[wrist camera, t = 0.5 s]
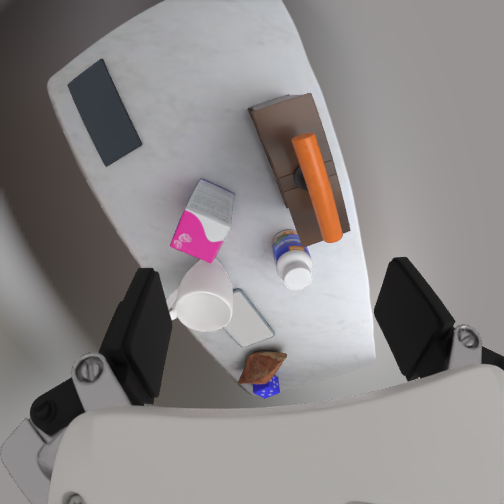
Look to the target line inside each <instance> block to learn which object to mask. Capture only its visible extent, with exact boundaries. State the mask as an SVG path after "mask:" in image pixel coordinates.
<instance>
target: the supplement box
mask: <svg viewBox="0 0 504 504" xmlns="http://www.w3.org/2000/svg"><path fill="white" fill-rule="evenodd" d="M234 195H235V193H233V192H231V191H228V190H226V189H224V188H222V187H219V186H217V185H215V184H213V183H211V182H209V181H206V180H204V179H200V180H199V182H198V184H197V186H196V188H195V190H194V192H193V194H192V196H191V198H190V200H189V202H188V204H187V206H186V208H185V210H184V212H183V214H182V216H181V219H180V221H179V224H178V226H177V229H176V231H175V234H174V236H173V239H172V241H171V244H170V247H172V248H175V249H177V250H179V251H182V252H185V253H187V254H189V255H192V256H194V257H196V258H199V259H201V260H203V261H206V262H208V263H210V264H211V263H212V262H213V260H214V259H215V257H216V255H217V253H218V251H219V249H220V247H221V245H222V244H223V242H224V240H225V238H226V236H227V234H228V232H229V230H230V228H231V220H232V211H233V202H234Z"/></svg>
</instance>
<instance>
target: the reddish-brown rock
mask: <svg viewBox="0 0 504 504" xmlns="http://www.w3.org/2000/svg"><path fill="white" fill-rule="evenodd" d="M286 357H287V354H285V353H280V352H269V351H262V352H256V353H253V354H251V355H250V356H249V357H248V359H247V361H246V366H245V368H244V370H243V372H242V375H241V377H240V379H239V381H238V383H240V384H242V383H252V384H265V383H268V382H269V381H270V380H271V379H272V377H273V376H274V375H275V373H276V372H277V370H278V369H279V367H280V366H281V364H282V362H283V361H284V360H285V359H286Z"/></svg>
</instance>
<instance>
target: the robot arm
mask: <svg viewBox="0 0 504 504" xmlns="http://www.w3.org/2000/svg"><path fill="white" fill-rule="evenodd" d="M374 315H375V318H376V320H377V322H378V323H379V326H380V328H381V330H382V332H383V334H384V336H385V338H386V340H387V342H388V344H389V347H390V349H391V351H392V353H393V355H394V357H395V360H396V362H397V364H398V366H399V369H400V371H401V373H402V374H403V375H404V376H406V379H407V381H411V380H414V381H411V382H408V383H404V384H401V385H397V386H393V387H389V388H385V389H382V390H377V391H373V392H369V393H364V394H359V395H354V396H349V397H344V398H338V399H332V400H327V401H320V402H313V403H305V404H296V405H287V406H276V407H263V408H242V409H191V408H168V407H150V406H144V403H146V404H153V403H154V398H155V397H158V396H159V392H160V387H161V381H162V375H163V370H164V365H165V360H166V354H167V350H168V344H169V340H170V335H171V331H172V319H171V316H170V313H169V309H168V306H167V302H166V299H165V295H164V291H163V288H162V284H161V280H160V276H159V273H158V272H157V271H154V269H153V268H139V269H138V270H137V272H136V274H135V276H134V278H133V280H132V283H131V284H130V286H129V289H128V291H127V293H126V295H125V297H124V300H123V301H122V302H120V303H119V305H118V307H117V309H116V311H115V314H114V316H113V318H112V320H111V323H110V325H109V327H108V330H107V333H106V335H105V337H104V340H103V342H102V345H101V347H100V350H99V353H96V352H89V353H86V354H83V355H82V356H80V357H79V358H78V359H77V360H76V361H75V362H74V364H73V366H72V370H71V375H72V377H71V378H70V379H68V380H66V381H65V382H63V383H61V384H60V385H58V386H56V387H55V388H53V389H51V390H50V391H48V392H46V393H45V394H43V395H41V396H40V397H38V398H37V399H36V400H35V401H34V402H33V404H32V406H31V409H30V419H29V420H28V419H27V418H25V419H24V420H23V421H22V422H21V423H20V425H19V426H18V427H17V428H16V429H15V430H14V431H13V433H12V434H11V435H10V436H9V437H8V438H7V439H6V441H5V442H4V443H3V444H2V446H1V449H0V457H1V460H2V463H3V464H4V466H5V467H6V469H7V471H8V472H9V474H10V475H11V477H12V478H13V480H14V481H15V483H16V484H17V486H18V487H19V488H20V490H21V491H22V493H23V494H24V495H25V497H26V498H27V499H28V501H29V502H30V503H31V504H504V356H501V355H499V354H497V353H495V352H493V351H491V350H489V349H487V348H485V347H483V346H482V340H481V337H480V335H479V333H478V332H477V331H476V330H475V329H474V328H472V327H471V326H469V325H465V324H463V325H462V324H461V325H458V326H457V327H456V328H454V327H453V325H454V323H455V320H454V318H453V317H452V316H451V314H450V313H449V311H448V310H447V309H446V307H445V306H444V304H443V303H442V301H441V300H440V299H439V297H438V296H437V295H436V293H435V292H434V291H433V290H432V288H431V287H430V285H429V284H428V283H427V282H426V280H425V279H424V278H423V277H422V275H421V274H420V273H419V271H418V270H417V269H416V268H415V267H414V265H413V264H412V263H411V262H410V261H409V259H408V258H407V257H396V258H393V260H392V261H391V262H390V263H389V264H388V268H387V271H386V275H385V278H384V281H383V284H382V287H381V290H380V293H379V296H378V300H377V302H376V305H375V308H374ZM418 377H420V379H418ZM415 379H418V380H415Z"/></svg>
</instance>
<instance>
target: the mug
mask: <svg viewBox="0 0 504 504" xmlns="http://www.w3.org/2000/svg"><path fill="white" fill-rule="evenodd" d="M175 301H176V303H175V308H174V309H173V310H172V311H171V312H169V313H170V316H171V319H172V320H174V319H175V318H177V317H178V319H179V320H180V321H181V322H182V323H183V324H184V325H186V326H187V327H189V328H191V329H193V330H197V331H202V332H211V331H216V330H219V329H221V328H223V327H225V326H226V325H227V324H228V323H229V322H230V320H231V318H232V313H233V289H232V284H231V281H230V278H229V276H228V275H227V273H226V271H225V269H224V268H223V266H222V264H221V263H220V261H219V260H217V259H216V258H215V259H214V260H213V262H212V263H211V264H210V263H208V262H206V261H203V260H201V259H200V260H199V261H198V262H197V263H196V264H195V265H194V266H193V267H192V268H191V269H190V270H189V271H188V272H187V273H186V274H185V276H184V277H183V279H182V281H181V284H180V286H179V287H178V288H177V289H176V290H175V291H174V292H173V293H172V294H170V296H169V297H168V298H167V299H166V302H167V306H168V309H170V307H171V306H172V304H173V303H174V302H175Z"/></svg>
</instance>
